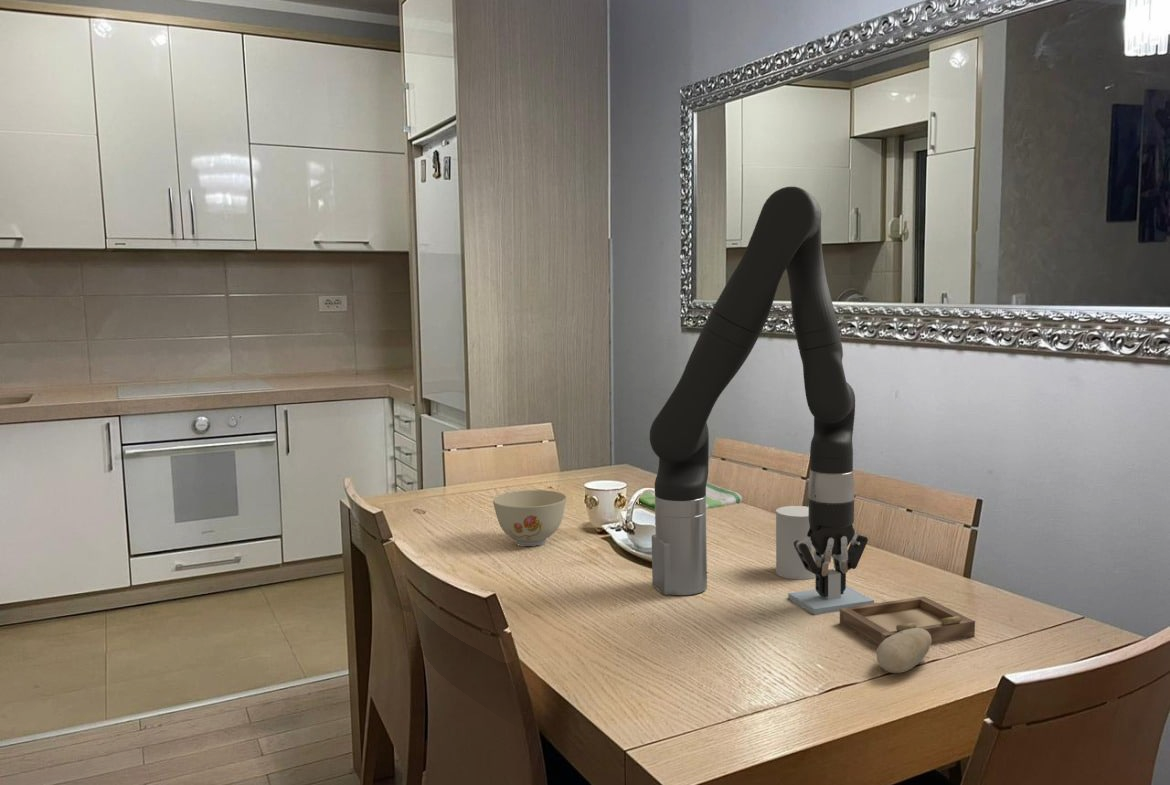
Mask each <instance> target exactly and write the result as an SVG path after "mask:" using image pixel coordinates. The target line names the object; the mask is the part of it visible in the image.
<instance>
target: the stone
mask: <svg viewBox="0 0 1170 785" xmlns="http://www.w3.org/2000/svg"><path fill="white" fill-rule="evenodd" d="M931 642H932V639H931V635H930V634H929V632H928V631H926V630H924V629H921V628H912V629H907V630H903V631H900V632H898V633H895V634H893V635H892V636H890V637H888V638H886V639H885V640H884V641H883V642H882V643H881V644H880V645H879V647H878V646H877V650H876V660H877V663H878V665H879V666H880V667H881V668H882V669H883V670H884V671H886V672H889V673H891V674H893V673H894V674H899V673H903V672H907V671H910V670H911V669H913V668H914V667H916V666H917V665H918V664H919V663H920V662H922V661H923V659H924V658H925V657H926V655H927V654H928V652H929V650H930V649H931V645H932V643H931Z"/></svg>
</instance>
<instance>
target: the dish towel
mask: <svg viewBox="0 0 1170 785" xmlns="http://www.w3.org/2000/svg"><path fill="white" fill-rule="evenodd" d="M646 492H647V493H646ZM646 492H644V493H645V494H644V495H642V496H641V497H640V498H639V504H638V505H640V503H641V504H642V505H641V506H643V505H644V508H645V507H646V508H648V509H651V510H654V511H655V494H654V493H652V491H646ZM741 502H743V497H742V495H741V494H739V493H738V492H736V491H733V490H729V489H726V488H724V487H720V486H718V485H716V484H712V483H710V482H709V481H707V483H706V510H708V509H709V508H710V509H716V508H720V507H721V506H722V507H726V506H725V505H727V506H731V504H732V505H735V503H737V504H741ZM715 507H716V508H715Z"/></svg>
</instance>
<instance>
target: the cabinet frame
mask: <svg viewBox="0 0 1170 785" xmlns="http://www.w3.org/2000/svg"><path fill="white" fill-rule="evenodd" d="M839 623H840V624H841V625H843V627H846V628H847V629H849V630H850V631H852V632H854V633H855V634H857V635H858V636H860V637H862V638H863V639H865V640H867V641H869V643H870V644H873V645H874V646H877V648H878V647H879V645H880V644H881V643H882V642H883V641H884V640H885V639H886V638H888V637H890V636H892V635H893V634H895V633H898V632H900V631H903V630H907V629H912V628H921V629H924V630H926V631H928V632H929V634H930V635H931V639H932V642H931V644H937V643H942V642H948V641H955V640H961V639H965V638H966V639H967V638H973V637H975V636H976V634H975V633H976V630H975V629H976V620H973V619H971V618H969V617H967V616H965V615H964V614H961V613H959V612H957V611H955V610H952V609H950V608H949V607H946V606H944V605H942V604H941V603H938V602H936V601H935V600H932V599H930V598H928V597H926V596H923V595H922V596H917V597H909V598H904V599H897V600H890V601H884V602H877V603H875V602H874V604H868V605H861V606H854V607H847V608H841V609H840V611H839Z"/></svg>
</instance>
